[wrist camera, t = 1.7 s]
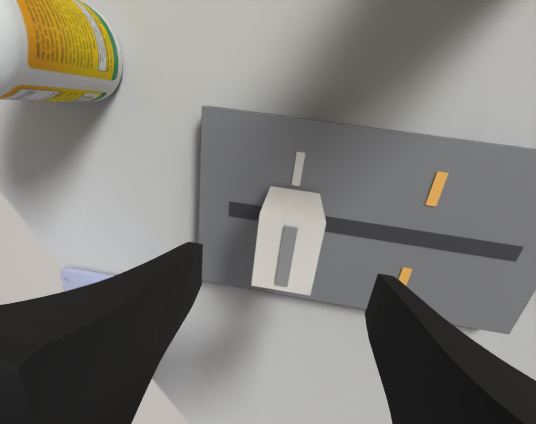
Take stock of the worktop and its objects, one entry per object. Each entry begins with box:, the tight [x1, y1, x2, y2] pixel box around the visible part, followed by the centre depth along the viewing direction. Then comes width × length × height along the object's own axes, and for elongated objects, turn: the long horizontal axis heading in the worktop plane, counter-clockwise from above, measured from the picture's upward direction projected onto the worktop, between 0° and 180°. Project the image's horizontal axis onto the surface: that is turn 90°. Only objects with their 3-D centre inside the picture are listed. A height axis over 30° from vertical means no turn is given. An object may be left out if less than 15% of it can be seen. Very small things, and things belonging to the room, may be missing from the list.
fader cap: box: [251, 186, 326, 296], centre depth 15 cm, size 4×3×5 cm
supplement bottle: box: [0, 0, 123, 102], centre depth 12 cm, size 5×5×10 cm
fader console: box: [198, 106, 536, 334], centre depth 18 cm, size 12×22×2 cm, turn 83°
